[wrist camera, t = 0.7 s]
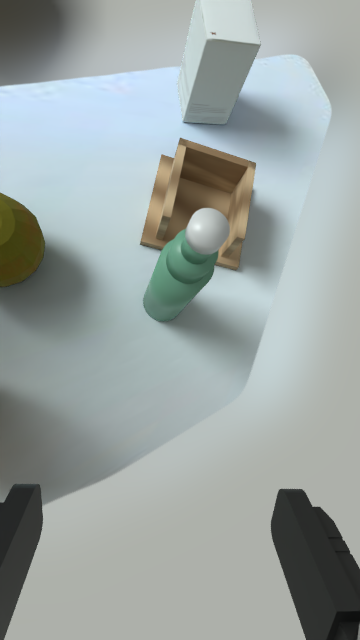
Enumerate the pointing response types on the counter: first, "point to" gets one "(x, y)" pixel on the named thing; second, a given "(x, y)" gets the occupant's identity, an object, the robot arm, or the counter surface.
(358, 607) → the robot arm
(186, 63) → the supplement box
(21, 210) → the apple
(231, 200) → the U stand
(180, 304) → the green bottle
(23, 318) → the counter surface
